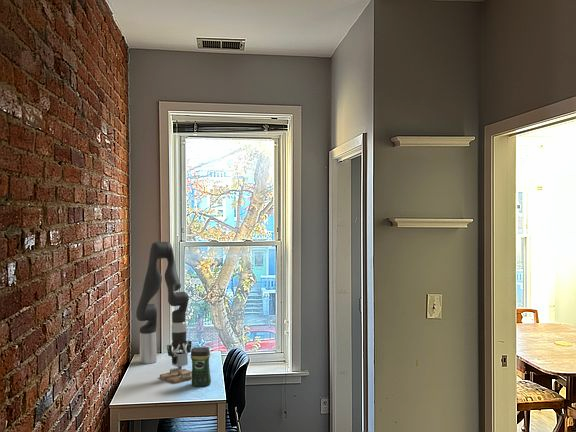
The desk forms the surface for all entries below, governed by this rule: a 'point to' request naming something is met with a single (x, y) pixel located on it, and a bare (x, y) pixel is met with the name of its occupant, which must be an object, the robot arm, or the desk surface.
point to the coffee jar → (200, 366)
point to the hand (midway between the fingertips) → (179, 362)
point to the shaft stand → (177, 375)
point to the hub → (181, 359)
